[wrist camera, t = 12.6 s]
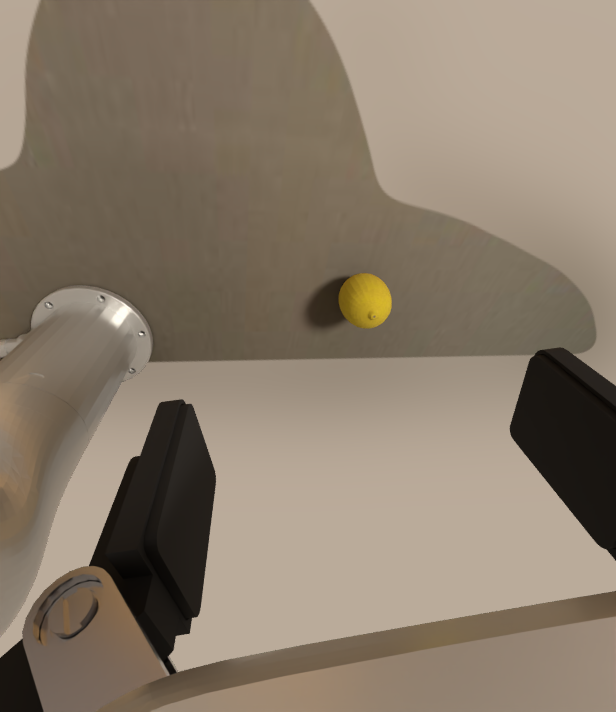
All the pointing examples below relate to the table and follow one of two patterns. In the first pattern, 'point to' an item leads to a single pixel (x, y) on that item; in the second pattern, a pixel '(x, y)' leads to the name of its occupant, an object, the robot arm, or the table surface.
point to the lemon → (365, 300)
